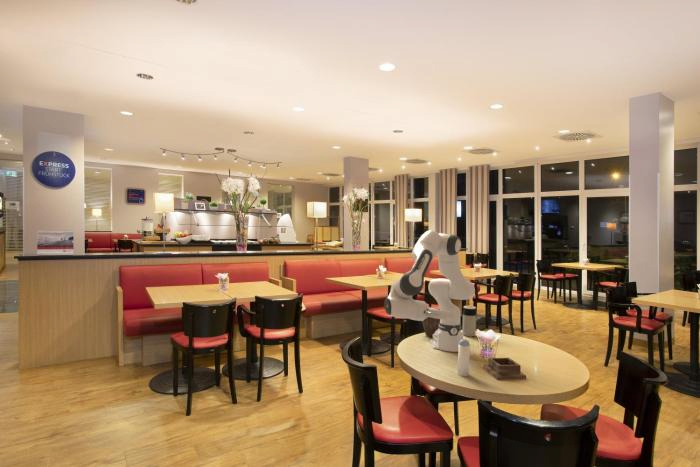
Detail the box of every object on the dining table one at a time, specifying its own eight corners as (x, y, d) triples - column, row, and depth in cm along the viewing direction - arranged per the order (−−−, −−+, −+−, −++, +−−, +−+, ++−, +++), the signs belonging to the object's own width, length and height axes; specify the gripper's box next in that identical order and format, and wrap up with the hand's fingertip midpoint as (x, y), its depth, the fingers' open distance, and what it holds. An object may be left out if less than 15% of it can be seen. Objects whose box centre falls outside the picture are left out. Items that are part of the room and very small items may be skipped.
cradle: (482, 368, 190) (483, 356, 190) (510, 367, 192) (510, 356, 192) (497, 379, 176) (497, 367, 176) (526, 378, 178) (526, 366, 178)
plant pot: (436, 331, 253) (437, 307, 253) (449, 338, 239) (449, 312, 239) (415, 333, 249) (416, 308, 249) (427, 340, 235) (427, 313, 234)
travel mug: (478, 336, 245) (479, 307, 245) (469, 337, 241) (470, 308, 241) (468, 332, 252) (469, 305, 252) (459, 334, 248) (460, 306, 248)
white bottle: (456, 372, 184) (456, 337, 184) (466, 372, 185) (467, 337, 184) (460, 376, 179) (461, 341, 179) (470, 376, 180) (471, 340, 179)
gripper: (431, 306, 166) (459, 310, 170) (410, 301, 186) (436, 305, 189) (429, 321, 165) (458, 324, 169) (409, 314, 185) (435, 318, 188)
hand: (446, 314), depth 179 cm, fingers open, 8 cm apart
